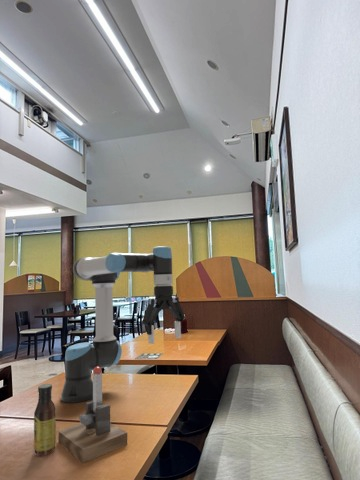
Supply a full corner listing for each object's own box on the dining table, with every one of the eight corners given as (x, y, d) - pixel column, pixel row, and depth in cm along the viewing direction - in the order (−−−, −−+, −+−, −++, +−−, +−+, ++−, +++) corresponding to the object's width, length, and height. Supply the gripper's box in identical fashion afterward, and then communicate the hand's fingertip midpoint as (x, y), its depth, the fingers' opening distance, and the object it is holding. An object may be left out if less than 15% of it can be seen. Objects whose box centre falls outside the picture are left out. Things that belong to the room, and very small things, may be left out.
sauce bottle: (37, 447, 104) (38, 382, 107) (58, 446, 105) (58, 381, 108) (30, 458, 98) (31, 389, 101) (51, 456, 99) (52, 387, 101)
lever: (79, 421, 106) (78, 369, 108) (98, 415, 111) (97, 364, 113) (85, 425, 103) (85, 371, 105) (104, 418, 107) (104, 367, 110)
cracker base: (58, 442, 107) (58, 405, 109) (99, 427, 117) (99, 393, 119) (83, 463, 94) (83, 420, 96) (127, 444, 104) (126, 406, 106)
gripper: (143, 286, 119) (145, 347, 116) (192, 284, 136) (194, 336, 133) (131, 286, 124) (133, 344, 121) (179, 284, 141) (181, 335, 138)
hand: (165, 340), depth 127 cm, fingers open, 13 cm apart
